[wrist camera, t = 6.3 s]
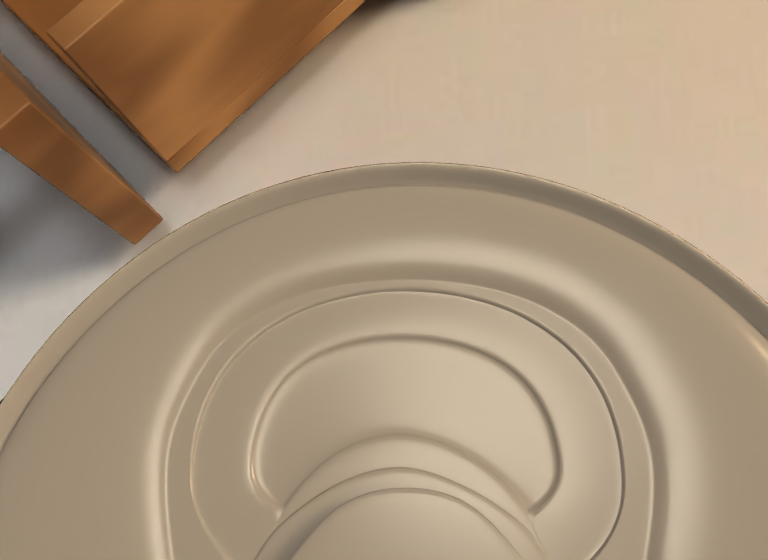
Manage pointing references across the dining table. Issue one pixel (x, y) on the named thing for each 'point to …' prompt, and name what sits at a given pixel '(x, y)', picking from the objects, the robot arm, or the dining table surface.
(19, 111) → the drawer
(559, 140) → the dining table surface
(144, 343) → the soda can
